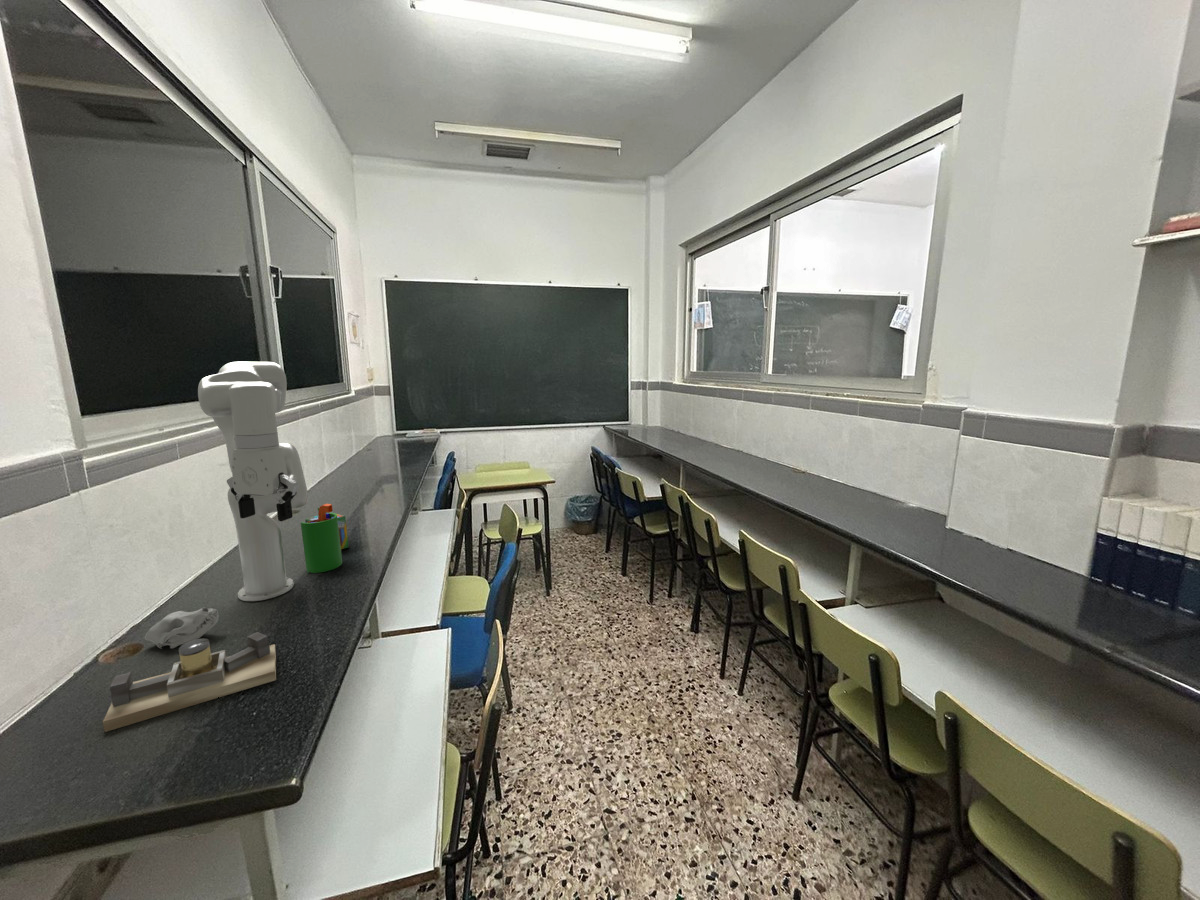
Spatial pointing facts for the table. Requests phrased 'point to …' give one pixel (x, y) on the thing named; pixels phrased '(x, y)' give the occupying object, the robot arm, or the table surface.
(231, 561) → the table surface
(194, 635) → the skull
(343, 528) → the chalk box
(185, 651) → the gold cylinder
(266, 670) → the stand
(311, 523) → the green cylindrical cup
